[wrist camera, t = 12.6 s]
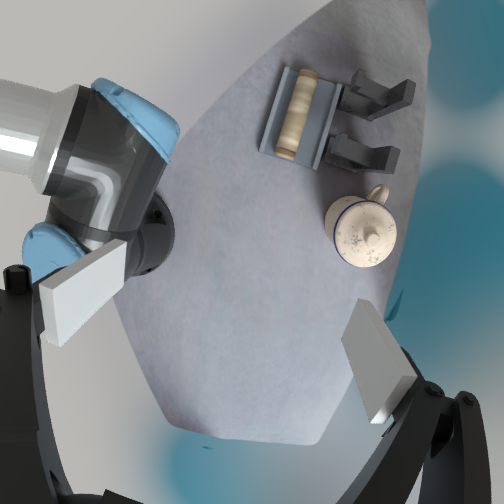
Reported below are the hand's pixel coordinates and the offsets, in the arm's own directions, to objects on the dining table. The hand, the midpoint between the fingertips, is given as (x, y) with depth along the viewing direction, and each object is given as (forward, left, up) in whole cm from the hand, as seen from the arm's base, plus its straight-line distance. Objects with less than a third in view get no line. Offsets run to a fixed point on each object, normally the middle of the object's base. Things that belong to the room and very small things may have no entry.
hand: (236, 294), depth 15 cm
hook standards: (+9, +17, -31) cm, 36 cm away
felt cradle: (+2, +16, -31) cm, 35 cm away
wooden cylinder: (+1, +16, -30) cm, 34 cm away
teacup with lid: (+15, +4, -31) cm, 35 cm away
